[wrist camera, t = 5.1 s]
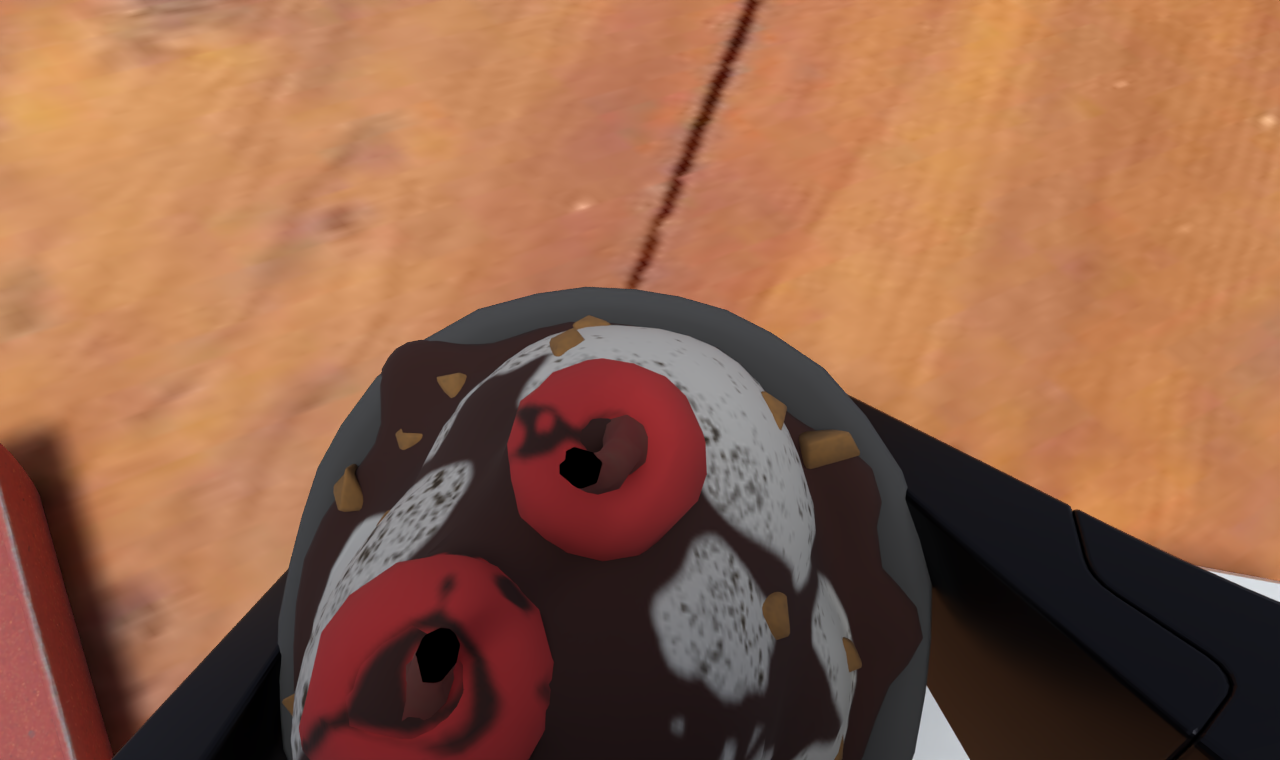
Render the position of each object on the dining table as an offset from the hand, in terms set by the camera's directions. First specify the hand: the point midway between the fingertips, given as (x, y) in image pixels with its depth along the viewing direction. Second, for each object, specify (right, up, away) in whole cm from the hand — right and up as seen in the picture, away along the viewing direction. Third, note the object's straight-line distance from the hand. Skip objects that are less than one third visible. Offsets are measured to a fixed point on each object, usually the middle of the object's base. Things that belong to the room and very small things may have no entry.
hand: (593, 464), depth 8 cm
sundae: (+1, -2, +7) cm, 8 cm away
